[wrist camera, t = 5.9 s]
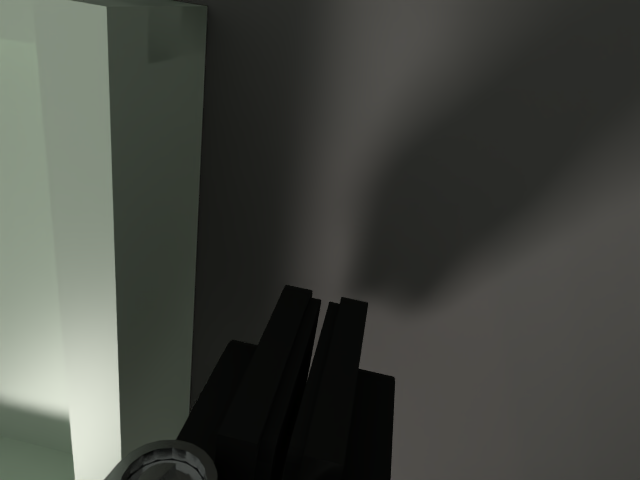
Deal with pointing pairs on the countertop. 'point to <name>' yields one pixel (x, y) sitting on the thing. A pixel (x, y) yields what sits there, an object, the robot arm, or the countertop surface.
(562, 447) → the countertop surface
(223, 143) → the countertop surface
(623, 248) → the countertop surface
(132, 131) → the tray
